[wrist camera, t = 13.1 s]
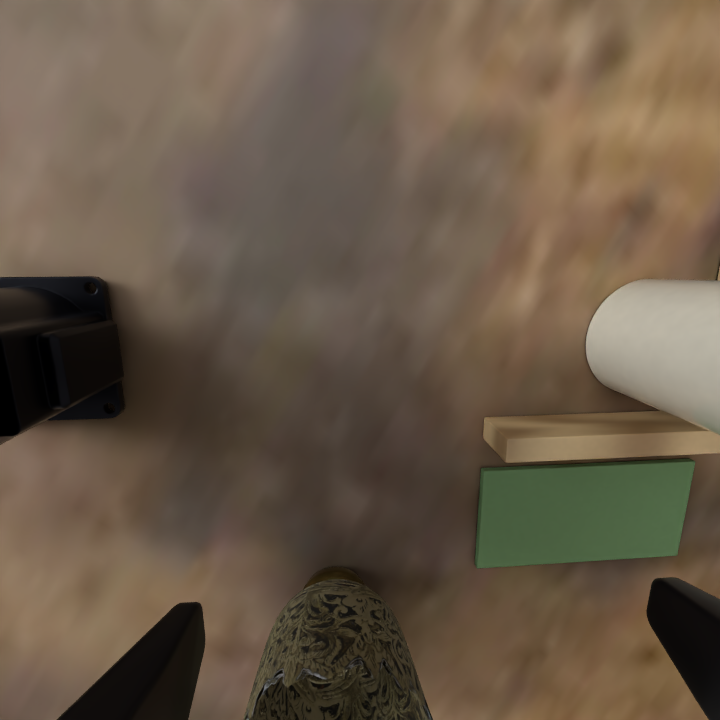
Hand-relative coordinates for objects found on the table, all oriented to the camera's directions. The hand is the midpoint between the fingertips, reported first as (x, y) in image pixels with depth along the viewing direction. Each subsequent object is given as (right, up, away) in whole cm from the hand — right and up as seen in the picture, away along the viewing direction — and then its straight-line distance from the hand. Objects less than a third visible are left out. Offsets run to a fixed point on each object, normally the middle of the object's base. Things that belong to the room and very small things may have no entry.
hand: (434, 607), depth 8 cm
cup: (-3, -8, +15) cm, 17 cm away
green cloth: (+11, -4, +15) cm, 19 cm away
